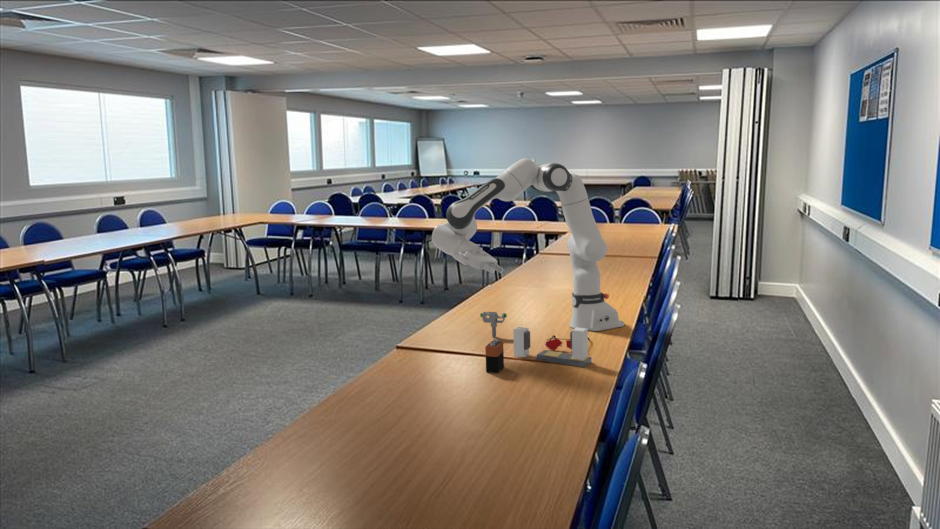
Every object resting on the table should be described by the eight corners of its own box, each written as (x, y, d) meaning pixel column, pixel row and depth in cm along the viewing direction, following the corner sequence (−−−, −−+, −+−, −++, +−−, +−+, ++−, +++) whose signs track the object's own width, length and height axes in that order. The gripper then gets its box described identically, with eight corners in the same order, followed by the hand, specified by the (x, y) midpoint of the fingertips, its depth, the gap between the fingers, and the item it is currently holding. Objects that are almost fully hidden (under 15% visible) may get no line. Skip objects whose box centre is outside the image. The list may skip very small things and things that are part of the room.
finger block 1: (514, 356, 235) (513, 329, 234) (519, 353, 239) (518, 326, 237) (525, 358, 233) (525, 331, 231) (531, 355, 236) (530, 328, 235)
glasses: (544, 351, 242) (544, 338, 241) (555, 339, 257) (554, 326, 256) (582, 354, 237) (582, 340, 236) (590, 341, 252) (590, 329, 251)
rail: (536, 360, 230) (536, 354, 230) (544, 355, 235) (544, 349, 235) (584, 367, 221) (584, 361, 220) (591, 362, 226) (591, 356, 225)
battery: (504, 367, 224) (503, 338, 222) (498, 373, 218) (497, 344, 216) (492, 366, 226) (491, 338, 224) (485, 372, 219) (484, 343, 218)
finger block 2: (570, 358, 224) (569, 329, 223) (574, 354, 227) (574, 326, 226) (583, 360, 222) (582, 331, 220) (587, 356, 225) (587, 328, 223)
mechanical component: (506, 338, 259) (505, 313, 257) (480, 337, 261) (480, 313, 259) (507, 336, 262) (506, 312, 260) (482, 335, 264) (481, 311, 262)
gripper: (461, 245, 236) (492, 264, 232) (481, 246, 255) (510, 264, 251) (453, 260, 238) (484, 279, 233) (473, 260, 257) (502, 278, 252)
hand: (498, 271), depth 242 cm, fingers open, 8 cm apart
